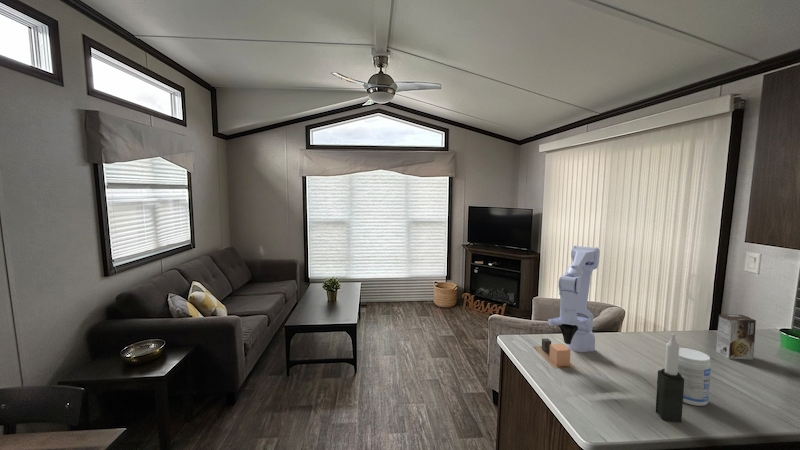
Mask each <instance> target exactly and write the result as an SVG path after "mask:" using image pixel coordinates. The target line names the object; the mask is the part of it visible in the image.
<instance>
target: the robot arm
mask: <svg viewBox="0 0 800 450" xmlns="http://www.w3.org/2000/svg"><path fill="white" fill-rule="evenodd" d="M570 255H571V257H570V258H571V260H572V264H569V265H568V267H567V269H566V271H565V273H564V275H562V276H560V277H559V279H558V292H559V298H560V301H559V302H560V304H559V317H554V318H548V319H547V325H549V326H550V327H553V326H558V327H559V329H560V331H561V333H562V337H563V342H564V344H566V345H567V348H568V349H570V351H573V352H578V353H585V352H586V353H587V352H595V350H596V337H595V334H594V333H593V327H594V314H593V313H592V312H591V311H590V310H589V309H588V300H589V292H590V285H591V278H592V273H593V272H594V271H595V270H596V269H598V267H599V262H600V249H599V248H598V246H597V247H590V246H579V245H573V246H572V248H571V253H570Z"/></svg>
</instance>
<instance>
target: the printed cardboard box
mask: <svg viewBox="0 0 800 450" xmlns="http://www.w3.org/2000/svg"><path fill="white" fill-rule="evenodd" d="M717 324H718V325H717V335H716V336H717V337H716V350H715V351H716V353H717V354H719V355H721V356H723V357H724V358H726V359H727V360H754V355H755V340H756V327H757V326H756V325H757V320H756V319H753V318H752V317H749V316H747V315H744V314H729V313H728V314H726V313H725V314H723V313H722V314H718V320H717Z"/></svg>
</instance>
